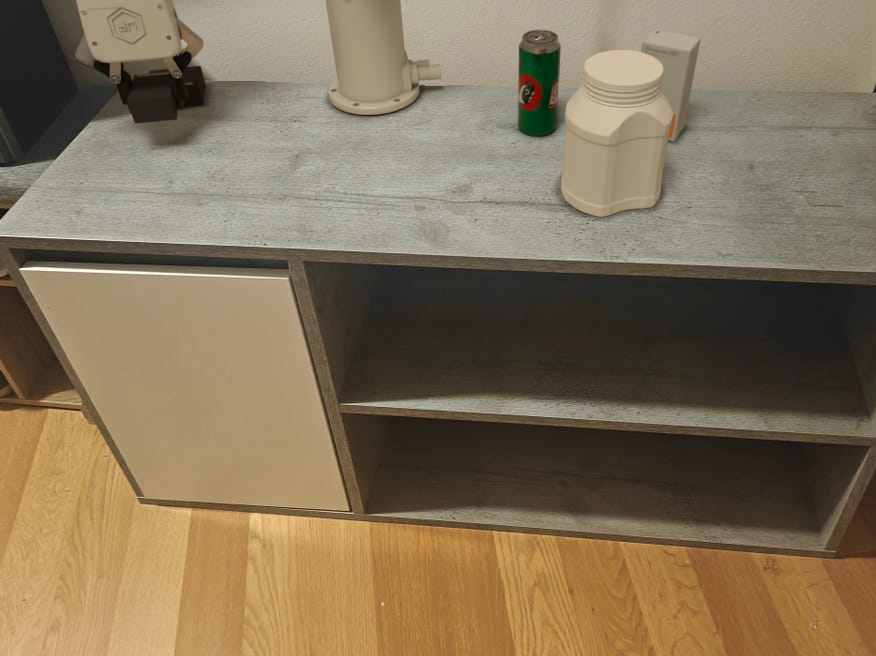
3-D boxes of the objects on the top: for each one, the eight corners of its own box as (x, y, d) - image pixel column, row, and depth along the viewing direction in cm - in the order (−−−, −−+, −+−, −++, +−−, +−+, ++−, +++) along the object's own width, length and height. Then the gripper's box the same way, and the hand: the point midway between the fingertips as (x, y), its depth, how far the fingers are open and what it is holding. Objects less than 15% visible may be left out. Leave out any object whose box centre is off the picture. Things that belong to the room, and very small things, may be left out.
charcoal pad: (206, 85, 115) (200, 64, 113) (203, 105, 111) (197, 84, 109) (155, 90, 114) (149, 69, 112) (151, 110, 110) (144, 89, 108)
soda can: (557, 137, 103) (562, 45, 94) (517, 138, 103) (519, 46, 95) (555, 118, 106) (560, 27, 98) (517, 118, 107) (518, 28, 98)
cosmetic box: (629, 133, 103) (640, 41, 95) (640, 118, 106) (652, 27, 98) (675, 143, 101) (691, 50, 93) (685, 128, 104) (701, 36, 95)
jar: (638, 161, 98) (654, 40, 88) (673, 203, 92) (695, 78, 81) (549, 177, 96) (555, 55, 86) (579, 222, 90) (589, 96, 79)
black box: (181, 93, 104) (174, 70, 102) (176, 119, 99) (169, 96, 97) (141, 97, 103) (133, 74, 101) (134, 123, 98) (126, 100, 96)
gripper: (20, -31, 85) (82, 127, 97) (187, -42, 87) (226, 114, 99) (35, -54, 90) (92, 99, 103) (192, -65, 92) (228, 86, 105)
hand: (157, 105), depth 101 cm, fingers closed on black box, 5 cm apart
